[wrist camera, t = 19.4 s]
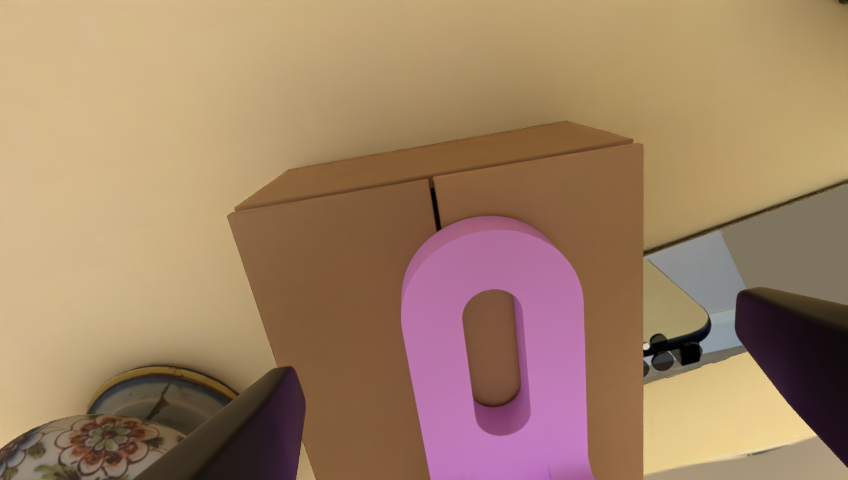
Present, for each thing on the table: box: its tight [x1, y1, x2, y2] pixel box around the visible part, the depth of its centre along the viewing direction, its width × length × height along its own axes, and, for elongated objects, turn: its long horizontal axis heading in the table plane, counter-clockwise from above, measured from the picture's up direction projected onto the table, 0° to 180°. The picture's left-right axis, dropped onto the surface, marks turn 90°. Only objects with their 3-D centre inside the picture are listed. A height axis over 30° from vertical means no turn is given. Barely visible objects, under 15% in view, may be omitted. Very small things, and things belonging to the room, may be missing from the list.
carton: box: [227, 121, 633, 480], centre depth 20 cm, size 13×16×7 cm
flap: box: [433, 143, 643, 480], centre depth 16 cm, size 6×16×1 cm, turn 10°
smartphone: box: [643, 182, 848, 385], centre depth 23 cm, size 8×1×16 cm
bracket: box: [401, 216, 595, 480], centre depth 13 cm, size 13×6×7 cm, turn 8°
